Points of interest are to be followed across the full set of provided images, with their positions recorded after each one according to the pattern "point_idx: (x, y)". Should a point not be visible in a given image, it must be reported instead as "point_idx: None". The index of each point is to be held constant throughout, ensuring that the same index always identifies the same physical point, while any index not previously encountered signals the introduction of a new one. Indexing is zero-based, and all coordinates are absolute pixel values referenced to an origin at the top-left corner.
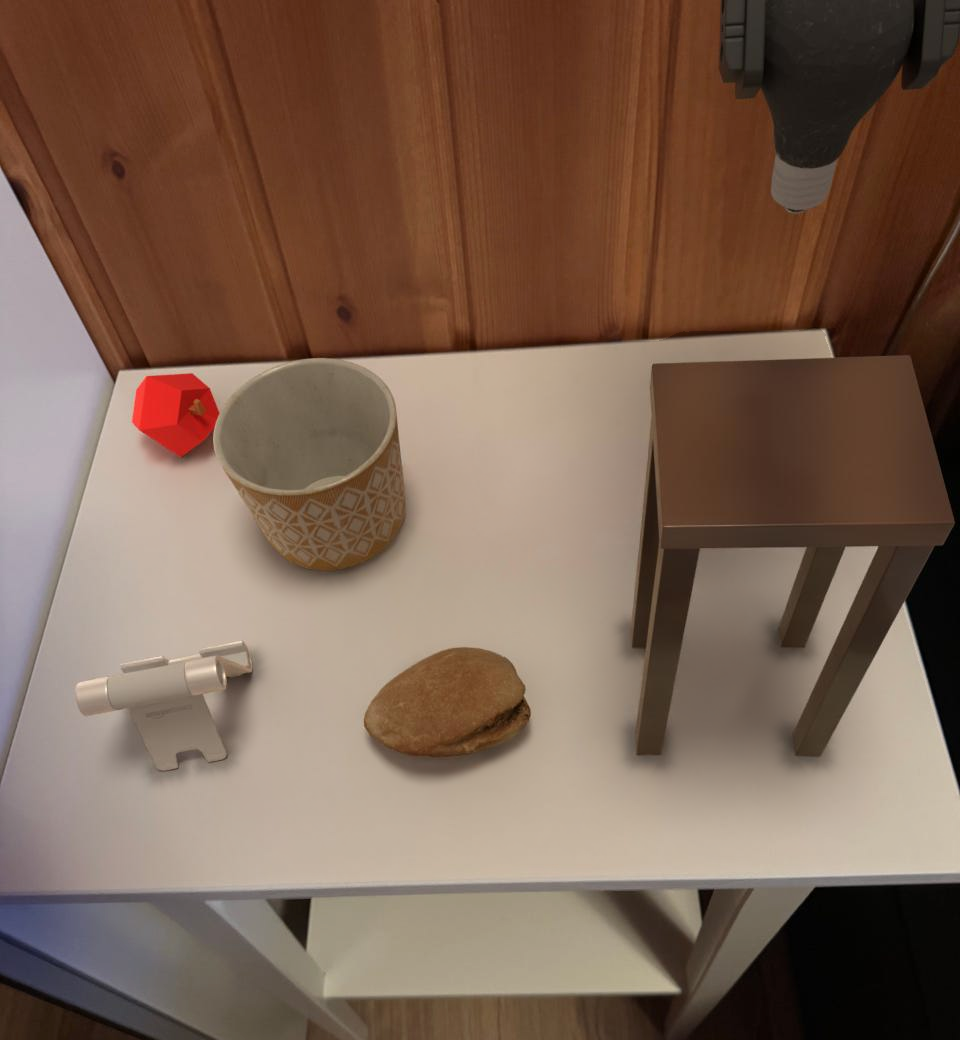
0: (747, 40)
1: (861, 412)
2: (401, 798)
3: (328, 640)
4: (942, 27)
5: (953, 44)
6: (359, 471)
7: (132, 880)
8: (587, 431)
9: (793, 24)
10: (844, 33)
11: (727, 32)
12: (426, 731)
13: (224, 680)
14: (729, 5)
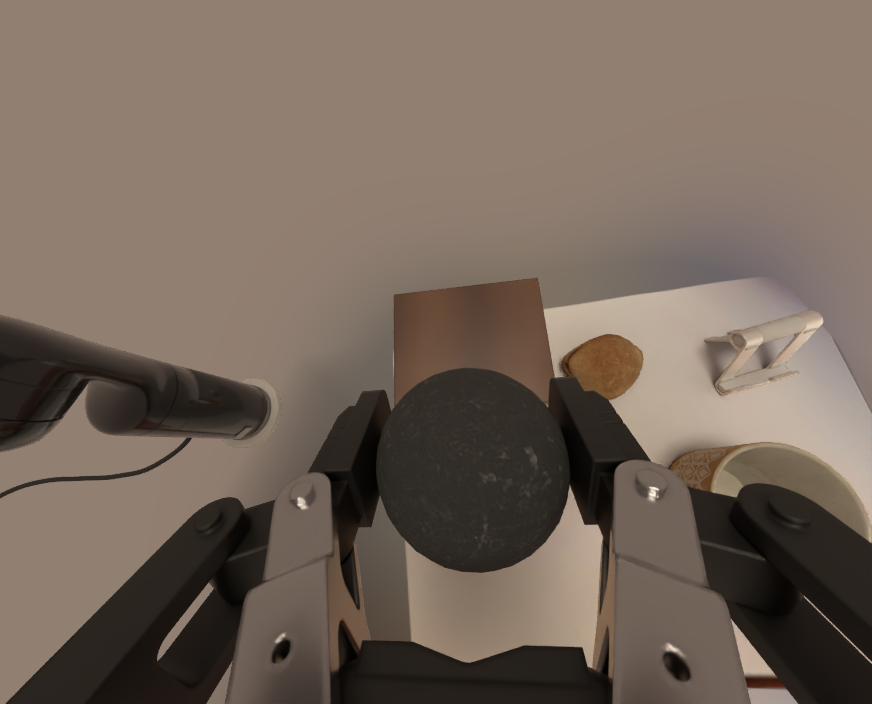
0: (585, 397)
1: (428, 363)
2: (610, 331)
3: (678, 407)
4: (353, 412)
5: (344, 413)
6: (721, 463)
7: (719, 284)
8: (561, 574)
9: (531, 395)
10: (468, 370)
11: (616, 415)
12: (611, 340)
13: (732, 342)
14: (630, 439)
